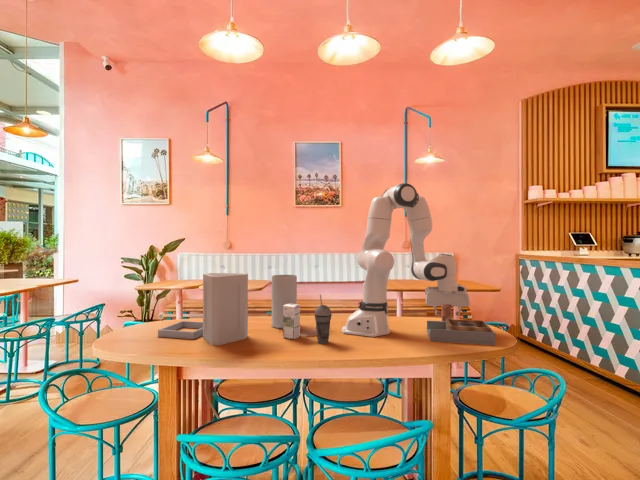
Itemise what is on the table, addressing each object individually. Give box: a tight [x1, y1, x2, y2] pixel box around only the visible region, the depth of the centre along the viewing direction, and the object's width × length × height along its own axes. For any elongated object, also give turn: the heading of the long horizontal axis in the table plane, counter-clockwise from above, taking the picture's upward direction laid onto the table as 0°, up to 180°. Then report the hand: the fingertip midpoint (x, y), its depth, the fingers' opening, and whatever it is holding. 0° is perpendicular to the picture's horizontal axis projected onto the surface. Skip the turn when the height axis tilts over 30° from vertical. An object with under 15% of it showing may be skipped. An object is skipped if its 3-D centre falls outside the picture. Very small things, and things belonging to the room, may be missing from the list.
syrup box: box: [282, 303, 301, 340], centre depth 152 cm, size 6×6×14 cm
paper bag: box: [202, 272, 249, 346], centre depth 148 cm, size 19×15×28 cm
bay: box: [426, 320, 496, 346], centre depth 153 cm, size 26×17×5 cm
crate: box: [446, 318, 492, 332], centre depth 152 cm, size 16×14×5 cm
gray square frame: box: [157, 320, 203, 340], centre depth 159 cm, size 18×18×3 cm
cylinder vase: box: [271, 274, 298, 329], centre depth 173 cm, size 12×12×25 cm
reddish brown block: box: [441, 304, 452, 321], centre depth 169 cm, size 4×4×12 cm
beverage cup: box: [314, 294, 333, 345], centre depth 145 cm, size 7×7×20 cm
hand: (447, 315), depth 169 cm, fingers open, 8 cm apart
